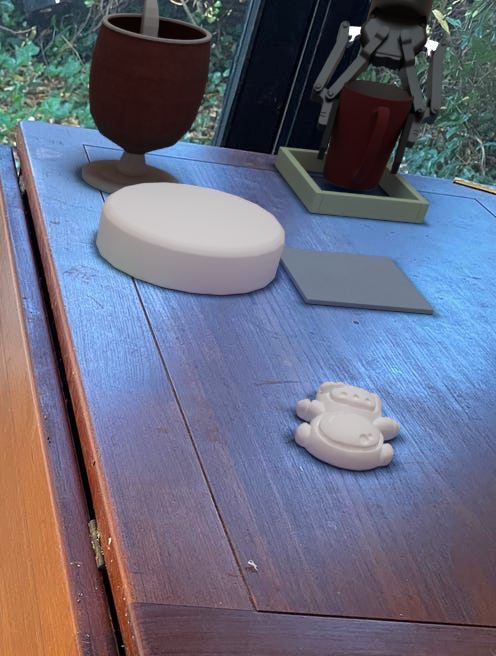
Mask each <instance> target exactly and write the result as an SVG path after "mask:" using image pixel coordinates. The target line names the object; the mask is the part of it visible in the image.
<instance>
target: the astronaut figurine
mask: <svg viewBox="0 0 496 656" xmlns="http://www.w3.org/2000/svg"><path fill="white" fill-rule="evenodd" d="M382 407H383V403H382V399H381V398H380V396H379V395H378V394H376V393H373V392H370V391H368V390H366V389H364V388H362V387H358V386H355V385H351V384H346V383H344V382H343V381H337V382H335V381H325V382H323V383H321V384H320V385H319V387H318V389H317V391H316V395H315V399H312V400H310V399H309V398H304V399H300V400H299V401H297V403H296V406H295V411H296V416H297V417H299V418H300V419H302V420H304V421H306V422H303V423H300V425H298V426H297V427H296V429H295V433H294V441H295V443H296V444H297V445H298V446H300V447H302V448H305V450H306V451H307V452H309V454H311V455H312V456H314V457H315V458H317V459H319V460H320V461H322V462H323V463H324V462H325V463H327V464H329V465H331V466H334V467H337V468H340V469H341V468H342V469H346V470H352V471H367V470H372V469H375V468H377V467H384V466H388V465H389V464H390V463H391V462H392V459H393V457H394V454H395V453H394V452H395V451H394V448H393V446H392V445H391V444H390V443H388V442H387V443H384V442H385V441H389V440H392V439H394V438H395V437H396V436H398V435H399V433H400V432H401V427H402V426H401V424H400V423H399V421H397V419H394V418H391V417H389V416H383V414H382V409H383V408H382ZM307 422H308V423H307Z"/></svg>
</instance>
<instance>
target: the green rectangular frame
mask: <svg viewBox="0 0 496 656" xmlns="http://www.w3.org/2000/svg"><path fill="white" fill-rule="evenodd" d="M318 153H319V150H316V149H315V150H314V149H305V148H296V147H286V146H279V148H278V151H277V156H276V158H275V163H274V167H275V168H276V169H277V171H278V172H279V173H280V175H281V176H282V177H283V179H284V180H285V182H286V183H287V184H288V185H289V186H290V188H291V189H292V191H293V192H294V193H295V195H296V196H297V197H298V199H299V200H300V201H301V203H302V204H303V206H305V208H306V209H307V211H308V212H309V213H310V214H319V215H320V214H321V215H328V216H338V217H347V218H358V219H359V218H361V219H371V220H379V221H391V222H399V223H400V222H401V223H412V224H424V220H425V218H426V215H427V213H428V210H429V207H430V206H431V204H430V202H428V201H427V200H426V198H424V196H423V195H422V194H421V193H419V191H418V190H417V189H415V188H414V187H413V186H412V184H410V183H409V182H408V180H406V179H405V178H404V177H403V176H402V175H401V174H400V172H399V171H397V174H396V175H395V174H390V172H391V168H392V165H391V164H390V163H389V162H388V163H387V166H386V168H385V170H384V173H383V175H382V177H381V180H380V182H379V184H378V186H380V188H381V189H383V191H384V192H385V193H386V194H387V195H388V196H381V195H380V196H379V195H371V194H362V193H361V194H360V193H349V192H339V191H329V190H321V188H320V187H319V186H318V184H317V183H316V182H315V180H314V179H313V178H312V177H311V176H310V175H309V173H308V172H311V173H321V174H323V169H324V164H325V160H326V155H327V151H325V154H324V157H323V160H320V159H317V157H318Z"/></svg>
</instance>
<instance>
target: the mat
mask: <svg viewBox="0 0 496 656" xmlns="http://www.w3.org/2000/svg"><path fill="white" fill-rule="evenodd" d="M279 264H280V265H281V266H282V268H283V270H284V271H285V272H286V274H287V276H288V277H289V279H290V280H291V282H292V283H293V285H294V287H295V288H296V290H297V292H298V293H299V295H300V296H301V298H302V299H303V301H304V302H305V304H307V305H308V304H310V305H318V306H319V305H320V306H331V307H332V306H333V307H344V308H356V309H367V310H379V311H390V312H403V313H411V314H412V313H413V314H426V315H433V314H434V311H435V310H434V308H433V307H432V306H431V304H430V303H429V302H428V301H427V300H426V298H425V297H424V296H423V295H422V294H421V293H420V292H419V290H418V288H416V287H415V285H414V284H413V283H412V282H411V281H410V279H409V278H408V276H406V275H405V274H404V272H403V271H402V270H401V268H400V267H398V265H397V264H396V262H395V261H394V260H393V259H392V258H391V257H390V256H379V255H369V254H358V253H347V252H337V251H327V250H326V251H325V250H315V249H314V250H313V249H303V248H295V247H293V248H292V247H284V248H283V251H282V254H281V258H280V261H279Z"/></svg>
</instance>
